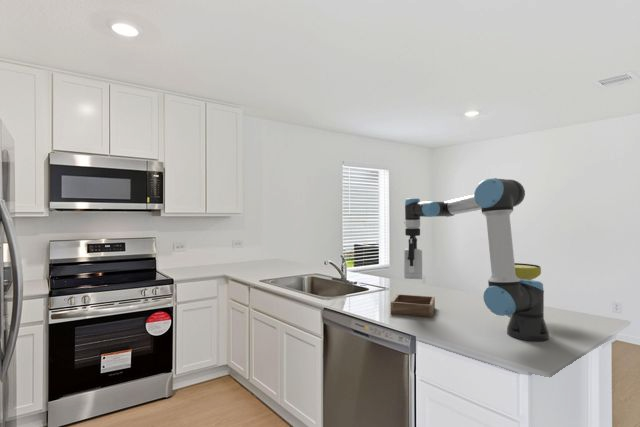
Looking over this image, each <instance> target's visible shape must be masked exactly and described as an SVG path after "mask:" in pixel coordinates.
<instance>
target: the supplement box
mask: <svg viewBox="0 0 640 427" xmlns="http://www.w3.org/2000/svg"><path fill="white" fill-rule="evenodd" d="M408 254H409V248H404V249H403V266H404V267H403V268H404V269H403V273H404V274H403V275H404V280H405V279H406V280H423V250H422V249H421V248H417V249H415V250H414V261H415V273H412V272H409V260H407V258H408Z"/></svg>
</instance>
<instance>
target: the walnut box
mask: <svg viewBox="0 0 640 427" xmlns="http://www.w3.org/2000/svg"><path fill="white" fill-rule="evenodd" d="M435 298H436V297H435V296H428V295H414V294H401V293H400V294H399V293H397V294H396V295H395V296H394V297H393V299H392V300H391V301H390V315H395V316H396V315H399V316H409V317H420V318H430V319H431V318H433V315H434V311H435V309H436V306H435V305H436V304H435V302H436V301H435V300H436V299H435Z"/></svg>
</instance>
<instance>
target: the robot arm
mask: <svg viewBox="0 0 640 427" xmlns="http://www.w3.org/2000/svg"><path fill="white" fill-rule="evenodd" d="M525 197H526V190H525V187H524V186H523V185H522V183H520V182H519V181H518V180H514V179H507V178H506V179H505V178H496V177H493V178H487V179H483V180H482V181H480V182H479V183H478V185H477V186H476V188H475V190H474V192H473V194H471V195H467V196H463V197H460V198H459V197H458V198H455V199H454V198H453V199H450V200H445V201H433V200H432V201H431V200H428V201H421V200H420V198H416V197H415V198H414V197H413V198H409V197H408V198H406V199H405V201H404V211H405V212H404V214H405V215H404V216H405V217H404V219H405V221H404V224H405V226H404V227H405V230H404V231H405V232H404V234H405V236H407V237H409V238H408V249H409V254H408V258H407V260H409V272H412V273H415V261H414V250H415V249H418V238H417V237H419V236H421V217H424V218H432V217H433V218H434V217H447V218H448V217H450V218H451V217H453V216H455V215H459V214H465V213H470V212H476V211H479V210H480V211H481V214H482V215H483V216H484V217H485V218H486V219H485V220H486V228H487V238H488V249H489V260H490V261H489V262H490V270H491V272H490V273H491V276H490V277H489V279H488V280H487V282H488V287H486V288H485V290H484V292H483V302H484V304H485V306H486V308H487V309H488V310H489V311H490V312H491V313H493V314H494V315H496V316H500V317H503V316H507V317H508V316H509V315H511V318H510V317H509V321H508V324H507V327H506V333H507V335H508V336H510V337H512V338H515V339H518V340H523V341H528V342H544V341H548V340H549V339H550V332H549V329H548V326H547V324H546V321H545V318H544V317H545V316H544V301H545V300H544V299H545V297H544V295H545V294H544V292H545V289H544V283H543V282H542V281H539V280H534V279H532V280H527V279H519V278H518V277H517V276H516V274H515V264H514V263H515V255H514V244H513V237H512V227H511V214H512V213H513V211H514V207H517V206H519V205H521V203H522V202H523V201H524V199H525Z"/></svg>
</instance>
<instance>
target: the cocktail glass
mask: <svg viewBox="0 0 640 427" xmlns="http://www.w3.org/2000/svg"><path fill="white" fill-rule="evenodd" d="M514 264H515V274H516V276H517V277H518V278H519V279H527V280H534V279H536V278H538V277H539V276H540V275H541V273H542V268H541V266H540V265H538V264H531V263H517V262H516V263H515V262H514ZM507 317H509V319H510V318H511V315H509V316H507Z"/></svg>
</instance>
